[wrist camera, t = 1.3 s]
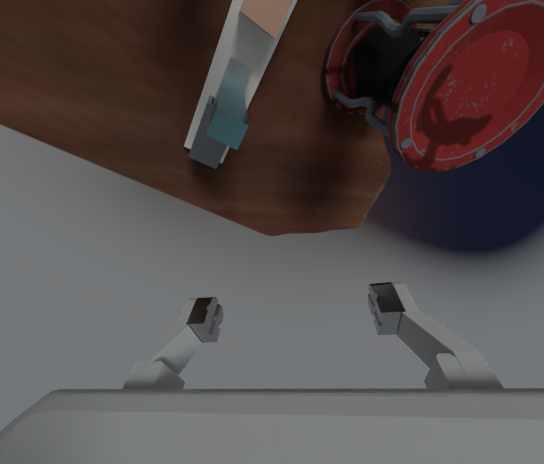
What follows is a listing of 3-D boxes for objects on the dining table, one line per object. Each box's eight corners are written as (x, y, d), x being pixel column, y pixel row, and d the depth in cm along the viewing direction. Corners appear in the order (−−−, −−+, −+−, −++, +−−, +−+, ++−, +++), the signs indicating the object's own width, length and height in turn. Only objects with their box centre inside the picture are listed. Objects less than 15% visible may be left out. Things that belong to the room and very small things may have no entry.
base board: (222, 161, 49) (221, 163, 48) (184, 143, 45) (183, 146, 44) (301, -13, 32) (303, -14, 31) (252, -60, 29) (253, -63, 28)
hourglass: (307, 50, 37) (375, 77, 19) (403, -35, 32) (621, -108, 14) (344, 129, 47) (412, 195, 29) (422, 74, 42) (564, 113, 24)
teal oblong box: (215, 152, 45) (206, 212, 31) (197, 144, 43) (180, 203, 29) (251, 68, 36) (262, 98, 22) (230, 54, 35) (228, 76, 21)
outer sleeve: (217, 156, 47) (216, 169, 43) (192, 144, 44) (187, 156, 40) (238, 111, 41) (238, 120, 37) (209, 94, 39) (207, 102, 35)
